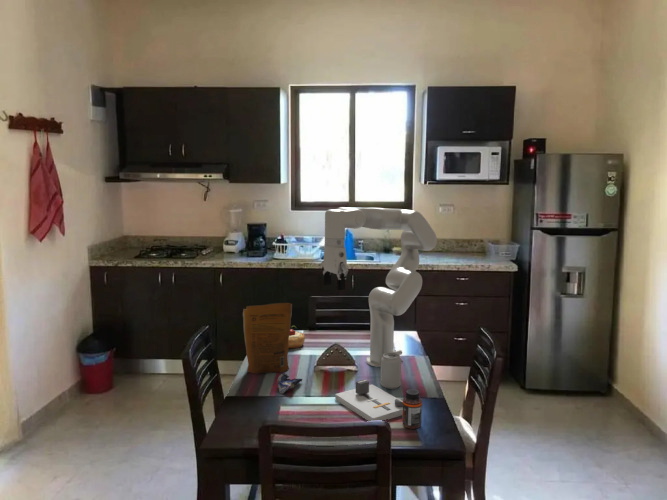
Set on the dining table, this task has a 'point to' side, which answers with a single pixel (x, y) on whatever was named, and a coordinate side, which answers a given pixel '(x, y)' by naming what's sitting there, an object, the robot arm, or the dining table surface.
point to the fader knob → (362, 387)
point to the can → (391, 370)
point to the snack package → (286, 382)
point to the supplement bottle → (412, 409)
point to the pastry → (295, 339)
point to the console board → (372, 403)
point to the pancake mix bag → (267, 337)
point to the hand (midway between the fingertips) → (334, 287)
